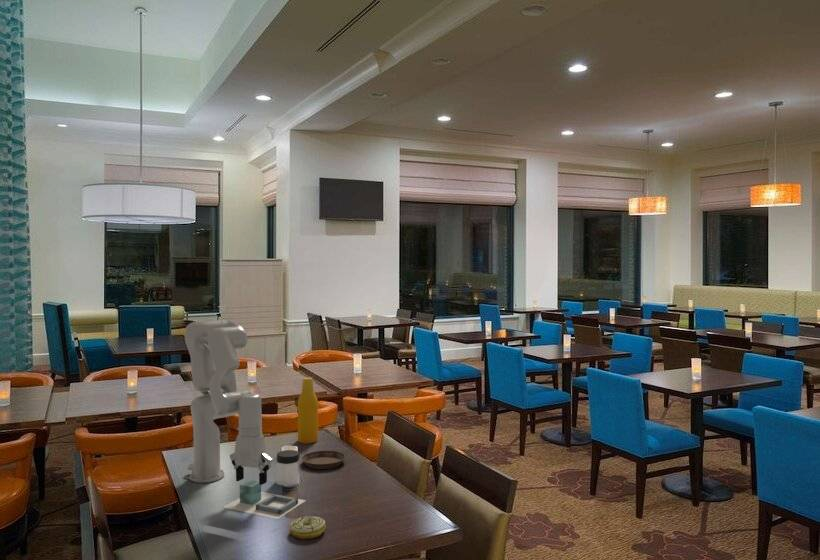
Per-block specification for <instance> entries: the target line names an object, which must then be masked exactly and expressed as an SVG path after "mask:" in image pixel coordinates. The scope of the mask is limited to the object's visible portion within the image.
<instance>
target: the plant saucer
mask: <svg viewBox="0 0 820 560" xmlns="http://www.w3.org/2000/svg"><path fill="white" fill-rule="evenodd" d="M345 458H346V455H345V453H342V452H340V451H335V450H318V451H317V450H315V451H312V452H307V453H305V454H303V455H302V457H301V460H302V462H303V463H304V465H306V466H307V467H308V468H310V469H314V470H326V469H329V470H330V469H334V468H336V467H339V466H340V465H341V464H342V463H343V461H345Z"/></svg>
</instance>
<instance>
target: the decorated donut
mask: <svg viewBox="0 0 820 560" xmlns="http://www.w3.org/2000/svg"><path fill="white" fill-rule="evenodd" d="M326 526H327V525H326V521H325V519H324V518H322V517H320V516H313V515H312V516H311V515H307V516H301V517H299V518H296V519H294V520H293V521H291V522H290V523H289V527H288V529H289V532H290V535H292V536H293V537H294V538H298V539H301V540H309V539H316V538H318V537H319V536H322V534H323V533H324V532H325V530H326Z"/></svg>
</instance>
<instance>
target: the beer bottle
mask: <svg viewBox="0 0 820 560" xmlns="http://www.w3.org/2000/svg"><path fill="white" fill-rule="evenodd" d="M301 385H302V386H301V393H300V395H299V397H298V400H297V441H298V443H300V444H313V443H317V441H318V440H319V402H318V398H317V394H316V393H315V389H314V381H313V377H303V378H302V384H301Z"/></svg>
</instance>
